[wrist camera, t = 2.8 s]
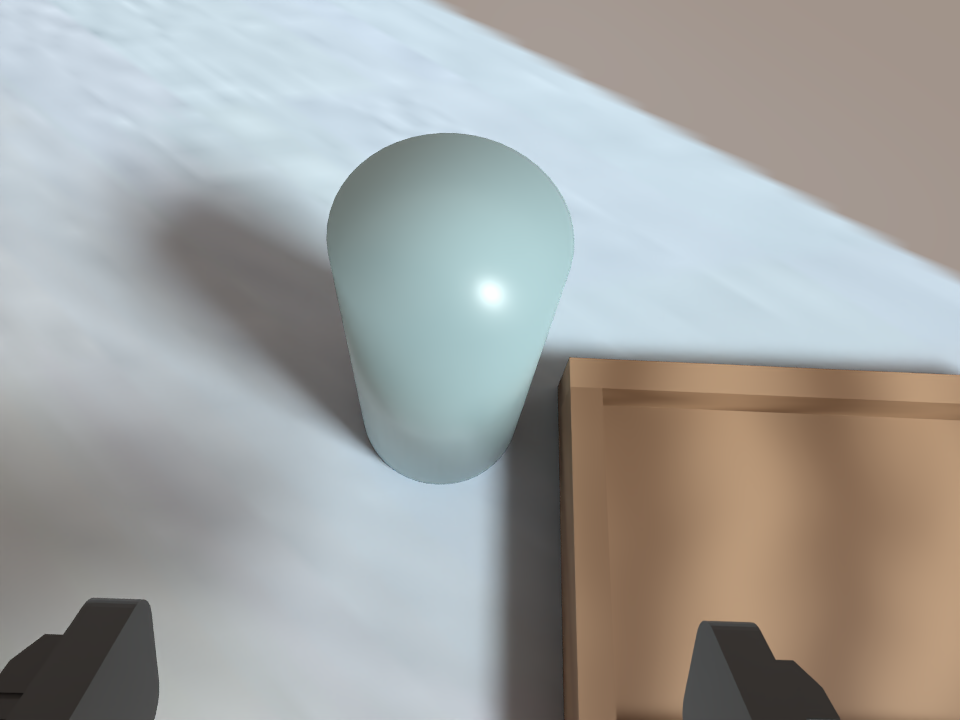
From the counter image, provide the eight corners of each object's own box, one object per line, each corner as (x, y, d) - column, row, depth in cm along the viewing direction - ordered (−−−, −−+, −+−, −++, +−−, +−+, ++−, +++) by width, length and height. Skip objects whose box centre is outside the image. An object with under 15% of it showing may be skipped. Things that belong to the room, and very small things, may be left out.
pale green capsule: (356, 480, 26) (313, 338, 15) (369, 335, 28) (339, 125, 17) (516, 487, 26) (577, 351, 16) (517, 342, 28) (571, 140, 18)
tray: (565, 778, 22) (580, 786, 20) (557, 386, 27) (569, 357, 25) (1105, 789, 23) (1179, 798, 21) (1005, 405, 28) (1057, 379, 26)
